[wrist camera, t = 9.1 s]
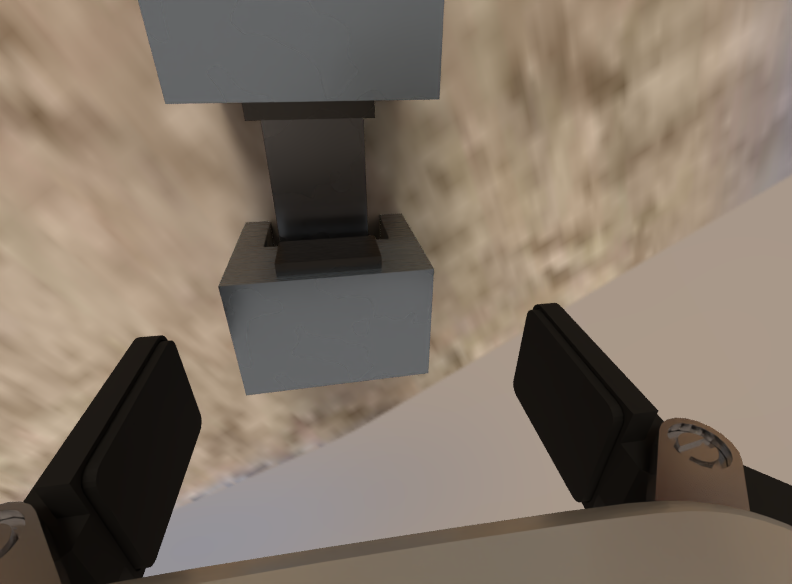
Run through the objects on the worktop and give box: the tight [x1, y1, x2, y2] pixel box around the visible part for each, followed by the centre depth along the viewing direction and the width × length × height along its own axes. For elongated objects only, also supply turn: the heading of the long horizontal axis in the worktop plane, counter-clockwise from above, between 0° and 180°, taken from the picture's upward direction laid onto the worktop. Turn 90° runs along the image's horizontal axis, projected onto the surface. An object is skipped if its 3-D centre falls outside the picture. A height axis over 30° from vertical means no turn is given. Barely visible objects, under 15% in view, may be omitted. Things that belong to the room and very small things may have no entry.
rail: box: [138, 0, 444, 242], centre depth 12 cm, size 6×12×5 cm, turn 0°
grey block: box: [218, 214, 434, 395], centre depth 14 cm, size 6×4×5 cm
